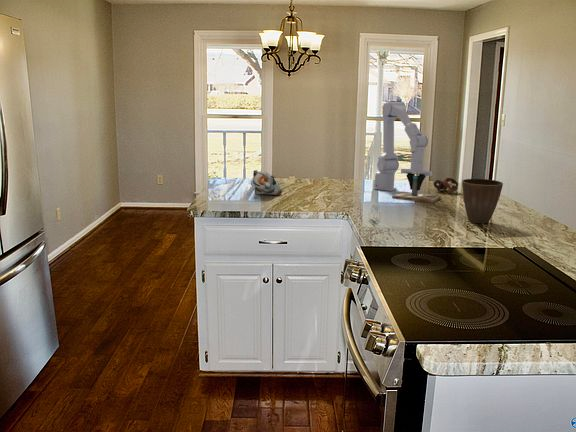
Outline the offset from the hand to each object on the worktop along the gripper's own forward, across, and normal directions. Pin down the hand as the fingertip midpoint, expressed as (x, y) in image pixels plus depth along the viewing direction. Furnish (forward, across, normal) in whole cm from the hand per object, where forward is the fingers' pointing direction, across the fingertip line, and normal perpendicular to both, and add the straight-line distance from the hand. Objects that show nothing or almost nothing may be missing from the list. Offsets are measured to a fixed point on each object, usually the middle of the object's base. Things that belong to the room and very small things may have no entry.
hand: (415, 189), depth 255 cm
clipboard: (+4, +1, 0) cm, 4 cm away
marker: (+3, 0, 0) cm, 3 cm away
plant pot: (+4, +36, -32) cm, 48 cm away
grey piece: (+4, -61, -35) cm, 70 cm away
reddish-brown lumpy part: (+4, +8, +25) cm, 27 cm away
